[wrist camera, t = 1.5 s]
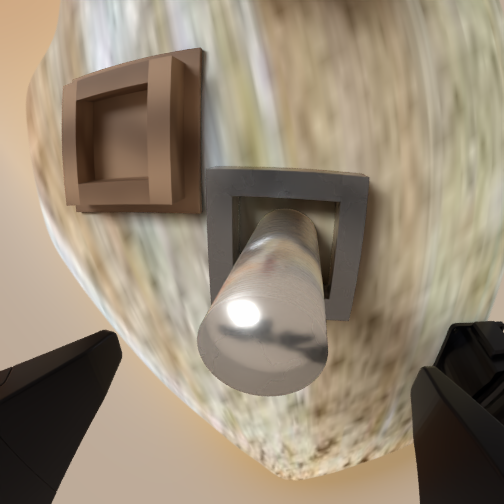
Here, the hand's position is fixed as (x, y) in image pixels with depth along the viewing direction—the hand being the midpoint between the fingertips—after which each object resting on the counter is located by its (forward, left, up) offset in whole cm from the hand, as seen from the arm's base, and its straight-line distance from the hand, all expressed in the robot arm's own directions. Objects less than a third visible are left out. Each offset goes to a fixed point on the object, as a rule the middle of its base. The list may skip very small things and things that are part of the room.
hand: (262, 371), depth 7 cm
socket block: (0, 0, -12) cm, 12 cm away
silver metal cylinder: (0, 0, -12) cm, 12 cm away
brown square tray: (+7, +11, -12) cm, 18 cm away
